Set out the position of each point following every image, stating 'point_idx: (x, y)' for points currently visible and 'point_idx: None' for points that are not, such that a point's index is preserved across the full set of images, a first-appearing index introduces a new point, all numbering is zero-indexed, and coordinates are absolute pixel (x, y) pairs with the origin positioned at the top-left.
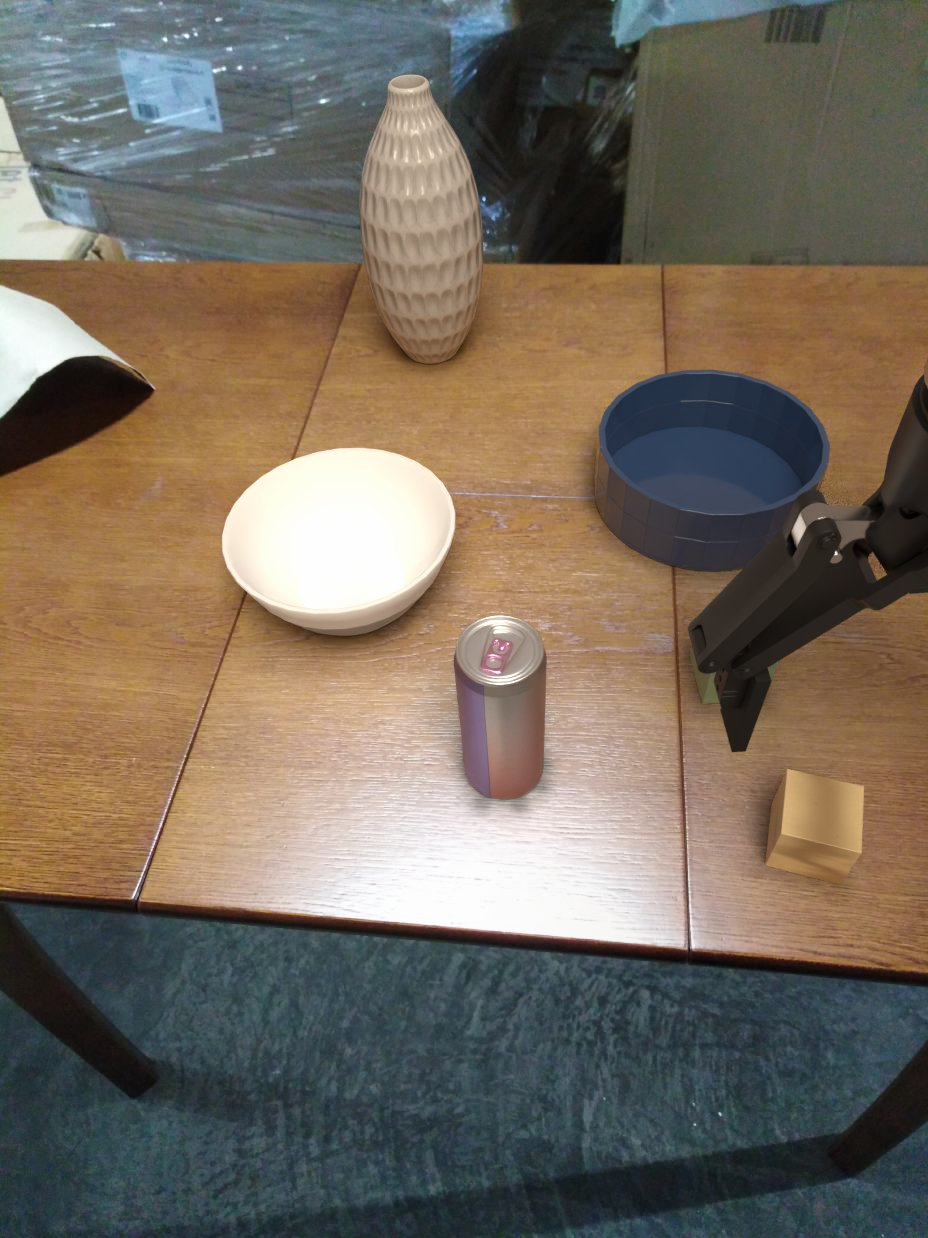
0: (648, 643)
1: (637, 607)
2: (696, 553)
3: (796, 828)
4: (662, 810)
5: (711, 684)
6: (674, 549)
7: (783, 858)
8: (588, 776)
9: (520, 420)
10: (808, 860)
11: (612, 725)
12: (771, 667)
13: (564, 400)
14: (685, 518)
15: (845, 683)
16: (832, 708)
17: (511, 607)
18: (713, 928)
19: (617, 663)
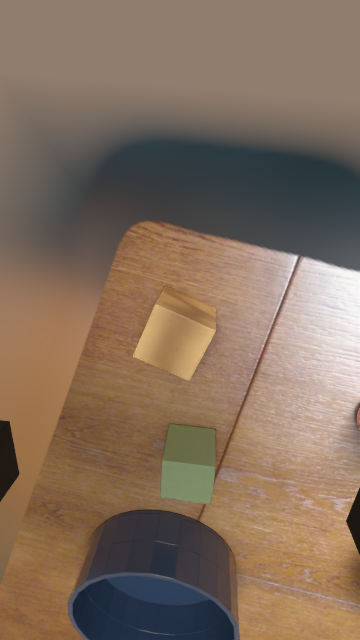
0: (236, 476)
1: (234, 500)
2: (184, 533)
3: (201, 332)
4: (276, 360)
5: (212, 447)
6: (198, 539)
7: (206, 311)
8: (322, 394)
9: (264, 630)
10: (190, 306)
11: (287, 426)
12: (167, 455)
13: None
14: (193, 575)
15: (109, 423)
16: (124, 408)
17: (326, 519)
18: (274, 267)
19: (265, 467)
